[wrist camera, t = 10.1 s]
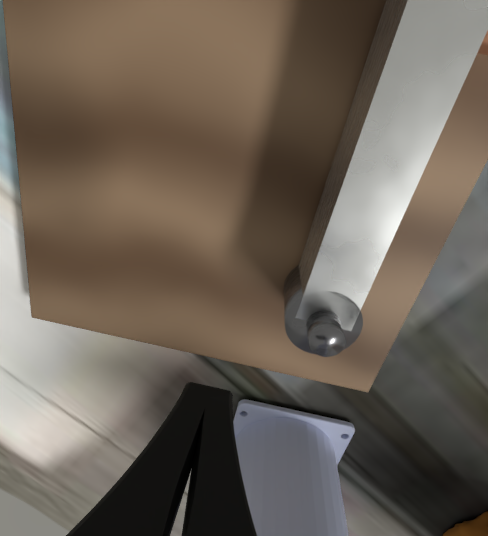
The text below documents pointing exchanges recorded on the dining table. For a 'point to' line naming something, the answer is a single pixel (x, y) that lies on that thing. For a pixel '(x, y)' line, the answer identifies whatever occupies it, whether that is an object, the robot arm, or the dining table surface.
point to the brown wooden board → (209, 170)
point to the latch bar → (379, 163)
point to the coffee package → (470, 527)
